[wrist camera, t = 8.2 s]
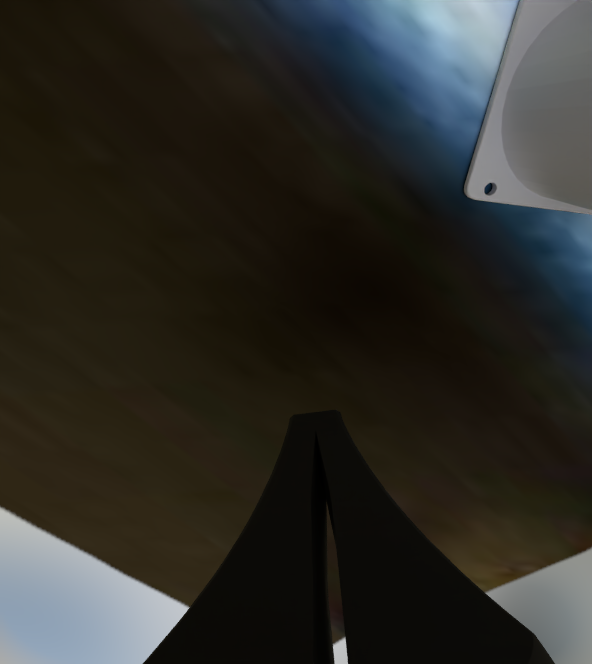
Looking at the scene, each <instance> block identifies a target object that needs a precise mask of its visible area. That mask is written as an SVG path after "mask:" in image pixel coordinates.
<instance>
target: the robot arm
mask: <svg viewBox="0 0 592 664" xmlns="http://www.w3.org/2000/svg"><path fill="white" fill-rule="evenodd" d="M489 183H492V185H493V186H492V190H491V192H489V193H488V194H485V193H484V188H485V186H486V185H487V184H489ZM464 192H465V195H466V196H467V197H469V198H471V199H474V200H481V201H489V202H497V203H505V204H512V205H520V206H528V207H536V208H544V209H552V210H560V211H568V212H576V213H584V214H592V0H520V2H519V5H518V9H517V12H516V15H515V19H514V22H513V25H512V29H511V32H510V35H509V39H508V42H507V45H506V49H505V52H504V55H503V59H502V62H501V65H500V69H499V72H498V75H497V79H496V82H495V85H494V89H493V92H492V95H491V98H490V102H489V105H488V108H487V112H486V115H485V118H484V122H483V125H482V128H481V132H480V135H479V138H478V142H477V145H476V148H475V152H474V155H473V158H472V162H471V165H470V168H469V172H468V175H467V178H466V182H465V185H464ZM326 500H327V505H328V510H329V515H330V520H331V525H332V530H333V534H334V539H335V544H336V549H337V558H338V567H339V577H340V587H341V596H342V606H343V616H344V626H345V636H346V646H347V656H348V664H555V663H554V662H553V660H552V659H551V657H550V656H549V654H548V653H547V651H546V650H545V648H544V647H543V646H542V644H541V643H540V641H539V640H538V639H537V637H536V636H535V635H534V633H532V632H531V631H530V630H529V629H528V628H526V627H525V626H524V625H523V624H521V623H520V622H519V621H518V620H516V619H515V618H514V617H513V616H512V615H510V614H509V613H508V612H507V611H505V610H504V609H503V608H502V607H501V606H499V605H498V604H497V603H496V602H495V601H494V600H492V599H491V598H490V597H489V596H488V595H487V594H485V593H484V592H483V591H482V590H481V589H480V588H479V587H478V586H476V585H475V584H474V583H473V582H472V581H471V580H470V579H469V578H468V577H466V576H465V575H464V574H463V573H462V572H461V571H460V570H459V569H458V568H457V567H456V566H455V565H454V564H453V563H452V562H451V561H450V560H449V559H448V558H447V557H446V556H445V555H444V554H443V553H442V552H441V551H440V550H439V549H437V548H436V547H435V546H434V545H433V544H432V543H431V542H430V541H429V540H428V539H427V538H426V537H425V535H424V534H423V533H422V532H421V531H420V530H419V529H418V528H417V527H416V526H415V525H414V523H413V522H412V521H411V520H410V519H409V518H408V517H407V515H406V514H405V513H404V512H403V511H402V510H401V509H400V507H399V506H398V505H397V504H396V502H395V501H394V500H393V499H392V498H391V496H390V495H389V494H388V492H387V491H386V490H385V488H384V487H383V486H382V484H381V483H380V482H379V480H378V479H377V478H376V476H375V475H374V473H373V472H372V471H371V469H370V468H369V466H368V465H367V463H366V462H365V460H364V458H363V457H362V455H361V454H360V452H359V451H358V449H357V447H356V446H355V444H354V442H353V440H352V438H351V437H350V435H349V433H348V431H347V429H346V427H345V425H344V422H343V420H342V417H341V414H340V412H338V411H337V410H330V411H322V412H314V413H306V414H298V415H293V416H292V417H291V418H290V421H289V426H288V430H287V433H286V437H285V440H284V443H283V446H282V449H281V452H280V454H279V457H278V459H277V462H276V464H275V467H274V469H273V472H272V474H271V477H270V479H269V481H268V483H267V485H266V487H265V489H264V491H263V494H262V496H261V498H260V500H259V502H258V504H257V506H256V508H255V510H254V512H253V513H252V515H251V517H250V519H249V521H248V522H247V524H246V526H245V528H244V529H243V531H242V533H241V535H240V536H239V538H238V539H237V541H236V543H235V544H234V546H233V547H232V549H231V550H230V552H229V554H228V555H227V557H226V558H225V560H224V561H223V563H222V564H221V566H220V567H219V569H218V570H217V572H216V573H215V574H214V576H213V577H212V579H211V580H210V581H209V583H208V584H207V585H206V587H205V588H204V589H203V591H202V592H201V593H200V595H199V596H198V597H197V599H196V600H195V601H194V603H193V604H192V605H191V607H190V608H189V609H188V611H187V612H186V613H185V614H184V616H183V617H182V618H181V619H180V621H179V622H178V623H177V624H176V626H175V627H174V628H173V629H172V630H171V631H170V633H169V634H168V635H167V636H166V637H165V639H164V640H163V641H162V642H161V643H160V644H159V646H158V647H157V648H156V649H155V650H154V651H153V652H152V654H151V655H150V656H149V657H148V658H147V660H146V661H145V662H144V663H143V664H334V653H333V643H332V632H331V622H330V611H329V601H328V581H327V508H326Z"/></svg>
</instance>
